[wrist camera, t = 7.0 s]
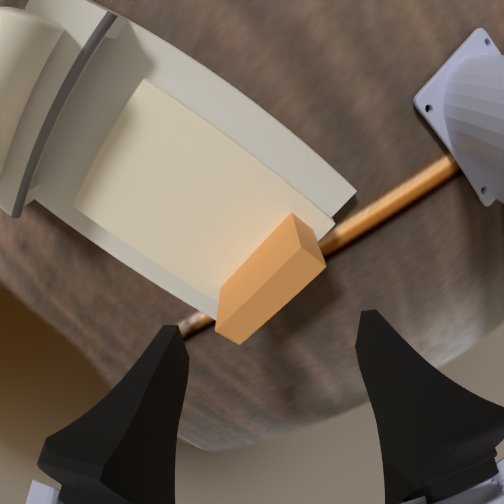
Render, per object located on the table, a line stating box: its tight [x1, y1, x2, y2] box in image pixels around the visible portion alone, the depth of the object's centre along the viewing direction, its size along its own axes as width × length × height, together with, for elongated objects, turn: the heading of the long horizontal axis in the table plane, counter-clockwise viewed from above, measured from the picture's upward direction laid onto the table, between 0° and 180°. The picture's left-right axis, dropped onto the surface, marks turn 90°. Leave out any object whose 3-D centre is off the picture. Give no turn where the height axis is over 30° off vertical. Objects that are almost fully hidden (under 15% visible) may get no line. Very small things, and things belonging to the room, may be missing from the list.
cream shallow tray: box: [72, 79, 335, 345], centre depth 14 cm, size 12×8×4 cm, turn 51°
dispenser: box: [0, 0, 357, 320], centre depth 13 cm, size 20×12×7 cm, turn 51°
